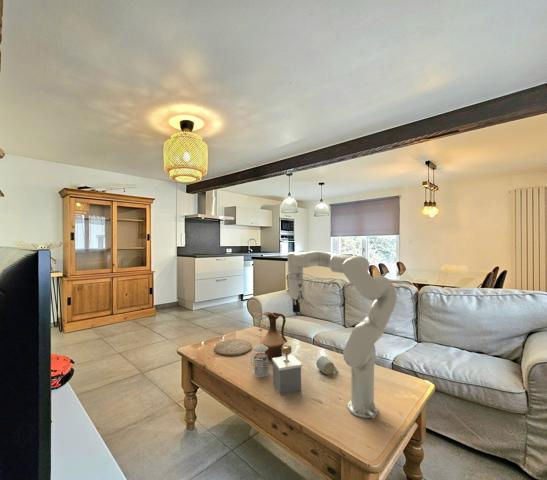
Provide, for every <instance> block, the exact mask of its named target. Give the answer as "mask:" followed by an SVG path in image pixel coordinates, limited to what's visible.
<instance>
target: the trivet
mask: <svg viewBox="0 0 547 480" xmlns="http://www.w3.org/2000/svg"><path fill="white" fill-rule="evenodd" d="M251 350H252V343H251V342H250V341H248V340H245V339H240V338H239V339H238V338H233V339H225V340H222V341H220V342H217V343H216V344H215V345H214V350H213V351H214V353H215V354H217V355H219V356H222V355H223V357H238V356H243V355H245V354H247V353H249V352H251Z"/></svg>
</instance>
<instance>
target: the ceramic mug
mask: <svg viewBox="0 0 547 480" xmlns="http://www.w3.org/2000/svg"><path fill="white" fill-rule="evenodd" d="M316 368H317V369H318V370H319V371H321V372H322V373H323V374H324V375H326V376H330V375H331V374H333V373H334V372H337V370H338V368H337V367H336V366H335V364H334V363H333V362H332V361H331V360H330V359H329V358H328V357H327V356H324V355H322V356H320V357H318V358H317V360H316Z"/></svg>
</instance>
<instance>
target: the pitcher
mask: <svg viewBox="0 0 547 480" xmlns="http://www.w3.org/2000/svg"><path fill="white" fill-rule="evenodd" d="M261 315H263V316H266V317H267V318H268V322H269V328H268V331H267V333H266V334H265V335H264V336H263V337H260V339H259V342H260V344H261V345H265V346H267V347H268V350H267V351H264V353H265V354H267V357H268V360H271V361H272V358H276V357H282V356H283V353H282V352H281V347H282V346H285V345H284V344H286V343H288V339H287V338H286V336H285V335H284V334H285V333H284V330H285V324H286V322H287V321H286V320H287V319H286V316H285V314H284V313H282V312H275V311H273V312H270V311H267V312H262V314H261ZM279 317H282V324H281V329H280V330H281V331H280V332H279V331H278V329H277V320H278V318H279Z"/></svg>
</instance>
